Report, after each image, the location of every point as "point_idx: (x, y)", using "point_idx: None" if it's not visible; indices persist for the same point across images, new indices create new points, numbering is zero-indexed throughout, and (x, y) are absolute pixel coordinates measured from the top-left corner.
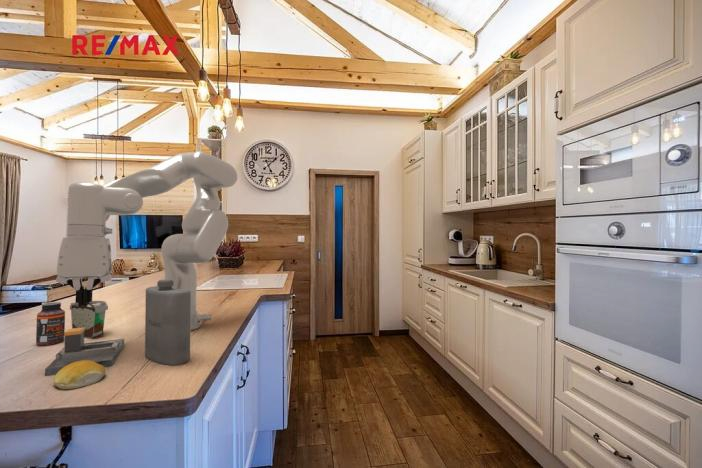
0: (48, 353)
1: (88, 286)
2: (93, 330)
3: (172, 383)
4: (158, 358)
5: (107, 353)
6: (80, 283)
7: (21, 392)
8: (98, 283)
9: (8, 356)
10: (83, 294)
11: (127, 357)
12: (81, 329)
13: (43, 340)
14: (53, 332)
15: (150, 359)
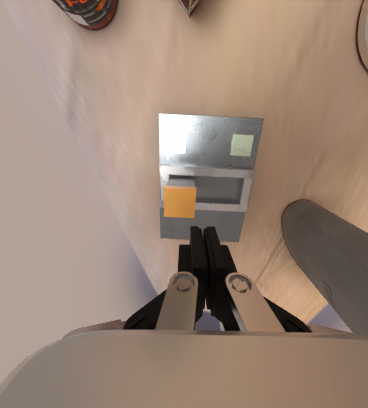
0: (125, 113)
1: (230, 327)
2: (190, 1)
3: (288, 309)
4: (294, 259)
5: (232, 211)
6: (188, 308)
7: (155, 267)
8: (279, 315)
9: (56, 93)
10: (206, 296)
11: (257, 210)
12: (193, 206)
13: (78, 20)
14: (88, 6)
15: (285, 240)
